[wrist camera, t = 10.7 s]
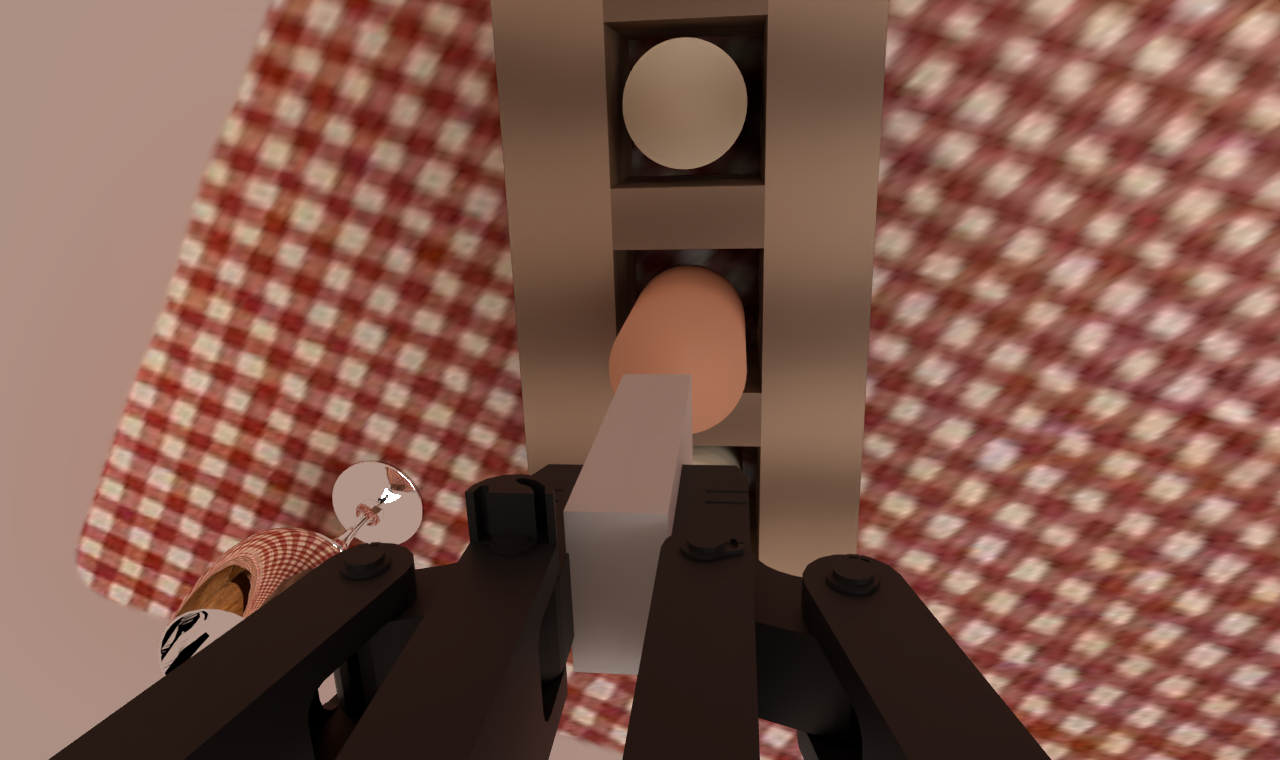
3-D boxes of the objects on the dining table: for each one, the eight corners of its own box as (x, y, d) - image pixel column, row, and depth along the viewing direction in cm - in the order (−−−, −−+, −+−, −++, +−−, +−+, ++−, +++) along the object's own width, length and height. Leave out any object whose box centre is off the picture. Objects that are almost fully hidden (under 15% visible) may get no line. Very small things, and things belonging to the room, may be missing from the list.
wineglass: (325, 434, 37) (144, 573, 26) (445, 465, 37) (315, 620, 25) (314, 540, 39) (140, 713, 28) (427, 571, 39) (299, 758, 27)
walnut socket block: (535, 1, 30) (488, -27, 25) (861, -16, 29) (891, -49, 23) (568, 523, 37) (538, 597, 31) (834, 531, 36) (853, 609, 30)
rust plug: (632, 265, 27) (605, 303, 22) (745, 264, 27) (747, 303, 21) (636, 371, 29) (611, 434, 23) (744, 372, 28) (746, 436, 22)
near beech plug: (642, 55, 30) (620, 40, 24) (745, 50, 29) (748, 34, 24) (645, 161, 31) (624, 170, 25) (744, 158, 30) (746, 167, 25)
